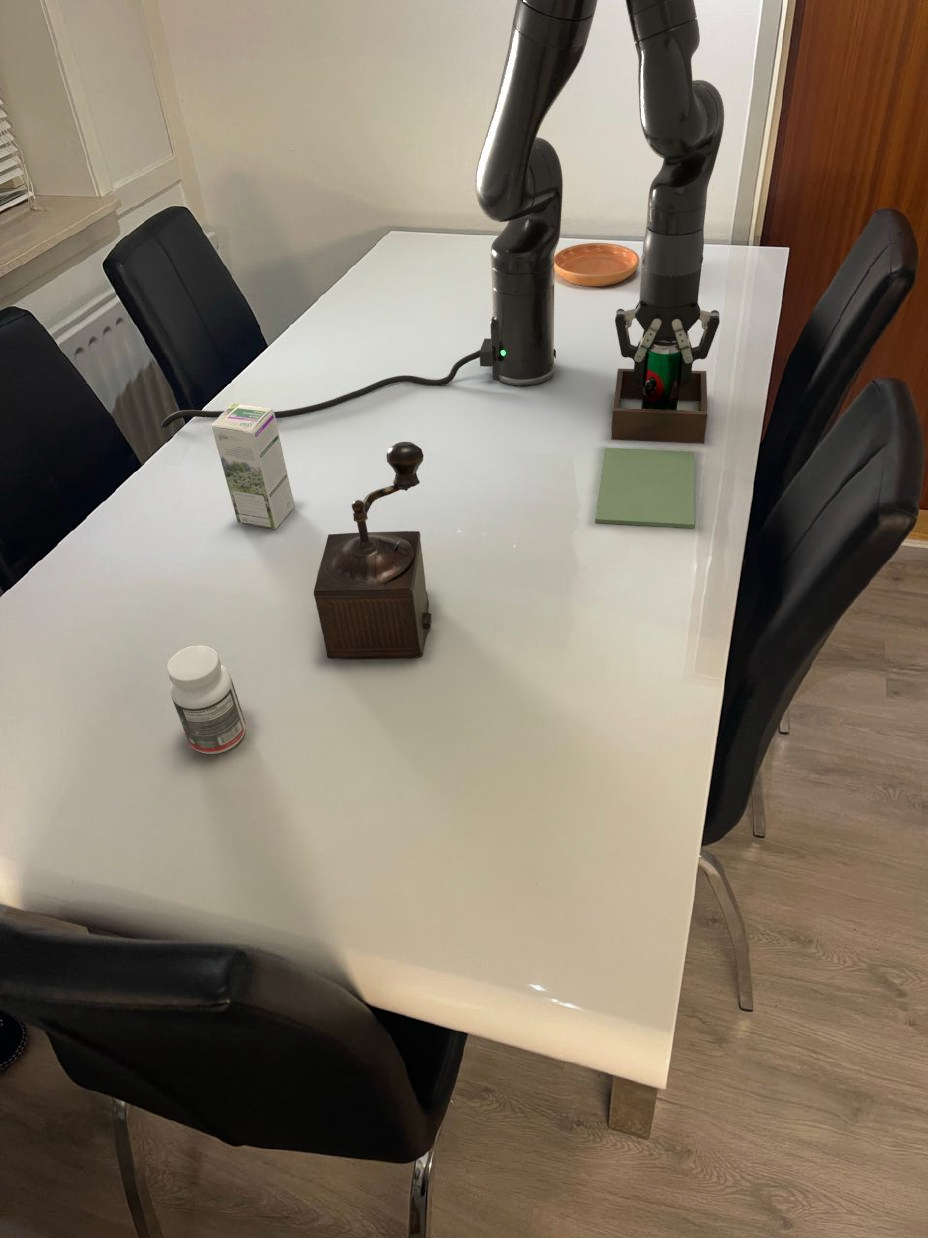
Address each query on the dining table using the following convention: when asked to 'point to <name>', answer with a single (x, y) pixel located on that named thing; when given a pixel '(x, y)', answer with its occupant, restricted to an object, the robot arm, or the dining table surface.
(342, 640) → the manual coffee grinder
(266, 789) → the dining table surface
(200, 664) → the pill bottle
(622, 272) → the saucer
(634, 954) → the dining table surface
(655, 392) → the soda can
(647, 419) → the crate
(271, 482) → the syrup box
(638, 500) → the mat
